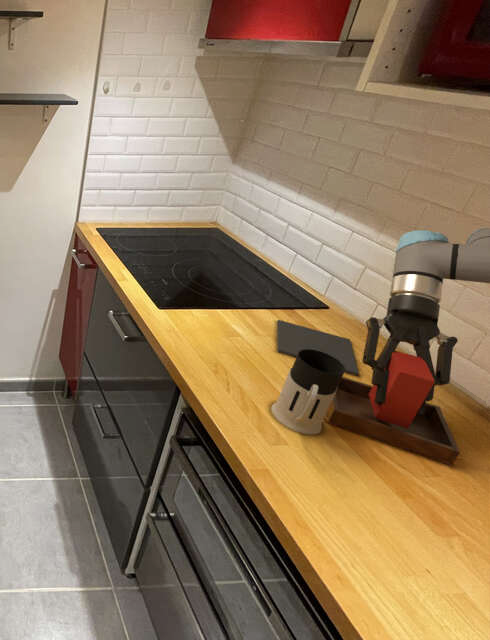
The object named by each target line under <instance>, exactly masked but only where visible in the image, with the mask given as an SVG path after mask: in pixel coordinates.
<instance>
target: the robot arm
mask: <svg viewBox="0 0 490 640" xmlns="http://www.w3.org/2000/svg"><path fill="white" fill-rule="evenodd" d="M481 228H482V227H481ZM478 229H479V228H478ZM476 230H477V229H476ZM476 230H474V231H475V232H474V231H473V232H474V233H473V232H472V233H471V234H470V235H469V236H468V238H467V240H466V241H465V242H466V243H465V244H463V243H462V244H461V243H452V242H449V238H448V237H447V235H445V234H444V233H441V232H439V231H432V230H428V229H426V230H425V229H423V230H422V229H419V230H412V231H408V232H405V233H403V234H402V235H401V236H400V238H399V240H398V244H397V248H396V250H395V257H394V263H393V264H394V265H393V270H392V271H393V272H392V280H391V285H390V291H389V296H390V297H389V299H388V303H387V309H386V315H385V316H384V317H383V318H377V317H374V316H371V317H370V318H368V319H367V320H366V321H365V325H366V328H367V334H366V339H365V345H364V349H363V355H362V364H363V365H366V366H369V367H370V368H371V370H372V375H371V380H370V382H371V386H373V385H375V386H377V390H376V396H375V402H374V403H377V404H383V403H385V399H386V392H387V385H388V378H389V372H390V371H386V370H384V368H385V367H386V365H387V363H388V362H389V360H390V358H391V356H392V353H394V351H396V350H397V348H398V346H399V344H400V343H407V344H409V345H411V346H412V347H413V350H414V351H415V356H417V357H421V358H422V359H423V360H424V361H425V362H426V364H427V366H428V368H429V370H430V372H431V374H432V376H433V378H434V380H435V382H434V384H433V386H432V388H431V389H430V391H429V393H428V395H427V396H426V398H425V400H424V401H423V403H422V405H421V407H420V408H419V410H418V412H417V414H416V415H415V416H423V415H424V413H425V405H426V403H427V402H431V401H432V400H434V396H435V395H434V394H435V387H436V386H438V387H439V386H440V387H441V386H445V385H448V384H450V382H451V370H452V362H453V361H452V360H453V351H454V350H453V349H454V347H455V346H456V345H457V343H458V341H459V339H458V338H457V337H456V336H449V335H446V334H444V333H442V332H441V330H440V328H439V326H438V325H439V318H440V317H439V316H440V308H441V305H440V303H441V301H442V294H443V293H442V292H443V285H444V280H454V281H463V282H464V281H465V282H473V283H484V284H490V228H482V229H479V230H477V231H476ZM383 326H384V327H385V329H386V330H387V331H388V333H389V336H388V339H386V343H385V344H384V346H383V348H382V350H381V352H380V353H379V355H378V357H377V358H376V354H377V348H378V343H379V337H380V331H381V329H382V328H383ZM434 338H435V339H437V341H436V343H437V345H438V348H437V355H436V364H435V365H436V366H435V367H434V364H433V359H432V354H431V351H430V348H431V344H430V341H431V340H433V339H434ZM434 368H435V369H434Z"/></svg>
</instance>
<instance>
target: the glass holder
mask: <svg viewBox="0 0 490 640" xmlns="http://www.w3.org/2000/svg"><path fill="white" fill-rule="evenodd" d="M345 373H346V372H345V367H344V365H343V364H342V363H341V362H340V361H339V360H337V359H336V358H334V357H333V356H331V355H328V354H326V353H324V352H321V351H317V350H312V349H303V350H300V351H299V353H298V355H297V357H295V360H294V362H293V364H292V367H291V368H290V369H289V371H288V374H287V377H286V378H285V381H284V383H283V386H282V388H281V391H280V393H279V395H278V398H277V401H275V402H274V403H273V404H272V406H271V407H270V409H271V413H272V415H273V416H274V418H275V419H276V420H277V421H278V422H279V423H281V424H282V425H283V426H284V427H286V428H288V429H290V430H292V431H295V432H297V433H300V434H302V435H303V434H304V435H317V434H319V433H320V432H321V431H322V429H323V426H322V425H323V424H322V423H323V420H324V419H325V417H326V415H327V410H328V408H329V406H330V404H331V402H332V400H333V398H334V396H335V393H336V391H337V389H338V384H339V382H340V380H341V378H342V377H344V374H345Z"/></svg>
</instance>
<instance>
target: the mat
mask: <svg viewBox="0 0 490 640" xmlns="http://www.w3.org/2000/svg"><path fill="white" fill-rule="evenodd" d="M276 332H277V335H276V336H277V338H276V339H277V340H276V341H277V353H280V354H284V355H287V356H290V357H293V358H296V357H297V355H298V353H299V351H300V350H303V349H312V350H317V351H321V352H324V353H326V354H328V355H331V356H333V357H334V358H336V359H337V360H339V361H340V362H341V363H342V364H343V365H344V367H345V372H344V373H345V374H350V375H352V376H356V377H358V376H359V369H358V365H357V361H356V358H355V354H354V350H353V346H352V343H351V339H350V338H346V337H342V336H339V335H335V334H332V333H328V332H325V331H321V330H317V329H313V328H309V327H306V326H302V325H299V324H295V323H292V322H288V321H284V320H281V319H277V321H276Z"/></svg>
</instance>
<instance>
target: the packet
mask: <svg viewBox="0 0 490 640" xmlns="http://www.w3.org/2000/svg"><path fill="white" fill-rule="evenodd" d="M384 370H386V371H390V372H389V378H388V385H387V392H386V399H385V403H383V404H377V403H374V402H375V396H376V390H377V386H375V385H372V386H373V387H372V389H371V391H370V393H369V397H370V401H371V405H372V408H373V412H374V416H375V418H376V419H380V420H383V421H386V422H389V423H392V424H395V425H398V426H401V427H404V428H407V429H408V428H409V426H410V424H411V422H412V421H413V419H414V417H415V415H416V414H417V412H418V410H419V408H420V407H421V405H422V403H423V401H424V400H425V398H426V396H427V395H428V393H429V391H430V389H431V388H432V386H433V384H434V382H435V380H434V378H433V376H432V374H431V372H430V370H429V368H428V366H427V364H426V362H425V361H424V360H423V359H422V358H421V357H417V355H412V354H410V353H405V352H401V351H398V350H395V351H394V353H392V356H391V358H390V360H389V362H388V363H387V365H386V367H385V368H384Z"/></svg>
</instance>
